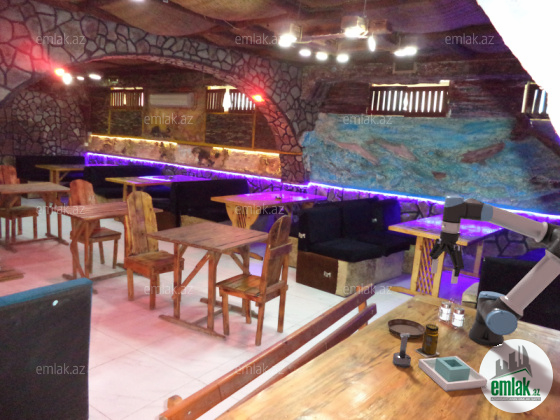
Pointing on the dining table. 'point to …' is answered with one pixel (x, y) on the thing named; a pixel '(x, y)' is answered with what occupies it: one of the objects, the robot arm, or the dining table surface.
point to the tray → (473, 382)
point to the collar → (452, 369)
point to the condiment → (429, 341)
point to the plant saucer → (406, 327)
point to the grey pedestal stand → (402, 353)
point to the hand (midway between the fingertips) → (443, 278)
